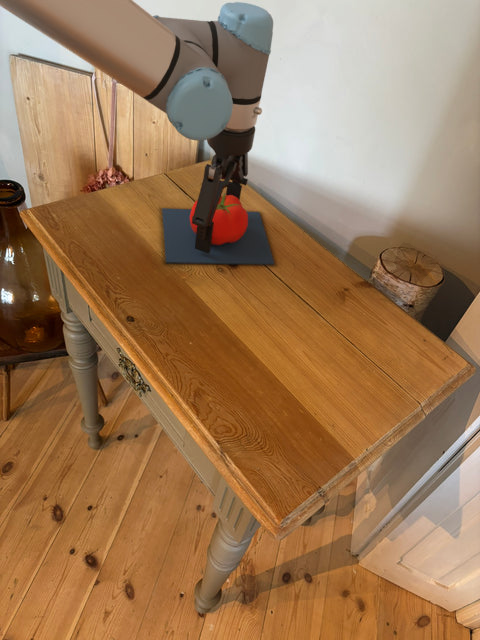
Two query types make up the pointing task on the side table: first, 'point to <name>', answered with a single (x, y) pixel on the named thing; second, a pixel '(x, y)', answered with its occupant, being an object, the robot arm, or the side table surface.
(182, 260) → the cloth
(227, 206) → the tomato
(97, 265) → the side table surface
